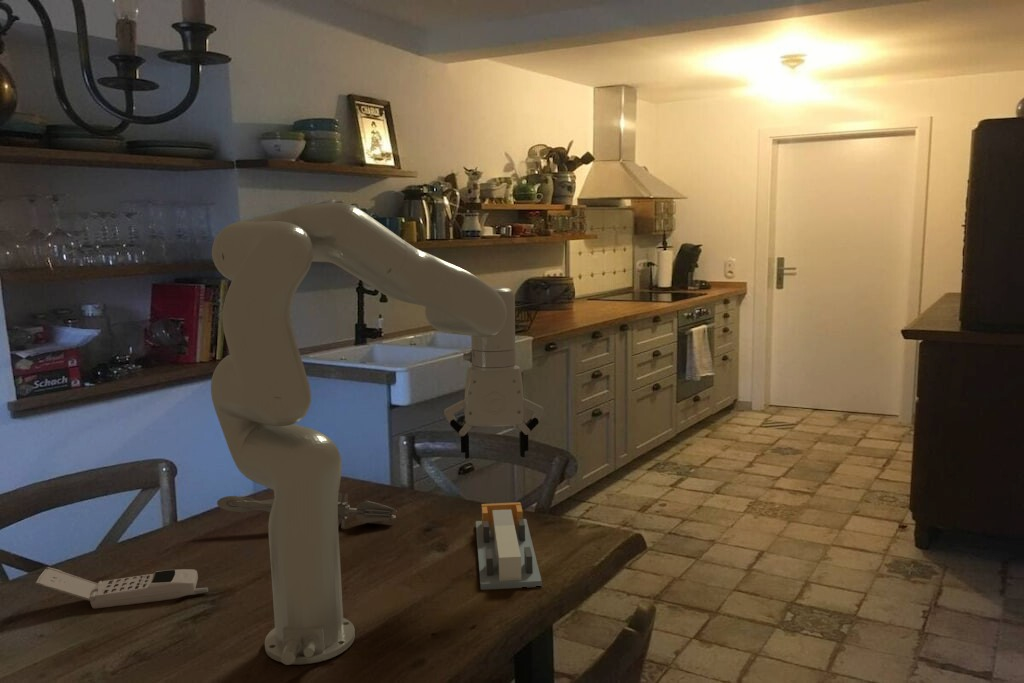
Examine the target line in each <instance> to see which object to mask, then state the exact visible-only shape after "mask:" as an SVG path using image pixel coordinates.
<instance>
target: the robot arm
mask: <svg viewBox="0 0 1024 683" xmlns="http://www.w3.org/2000/svg"><path fill="white" fill-rule="evenodd" d="M211 257H212V262H213V264H214V266H215V268H216V269H217V270H218V273H220V274H221V275H222V276H223V277H224V278H226V279H227V280H228V281H229V280H230V281H231V282H230V285H229V288H227V292H226V295H225V297H224V298H225V299H224V302H223V308H222V317H221V318H222V328H223V334H224V337H225V340H226V345H227V348H228V352H229V354H228V355H226V356H225V357H223V358H222V360H220V362H219V363H218V364H217V366H216V367H215V368H214V371H213V374H212V377H211V383H210V394H211V401H212V405H213V407H214V411H215V414H216V416H217V419H218V420H217V421H218V422H219V426H220V427H221V430H222V434H223V436H224V440H225V442H226V444H227V448H228V449H229V452H230V456H231V458H232V460H233V462H234V465H235V467H237V469H238V471H239V472H240V473H241V474H242V475H243V476H244V477H245V478H246V479H249V480H250V481H253V482H254V483H256V484H259V485H261V486H264V487H266V488H269V489H270V490H272V491H273V493H274V497H273V499H274V501H273V505H272V509H271V512H270V513H269V516H268V517H269V518H268V544H269V554H270V555H269V558H270V572H271V588H272V601H273V602H272V603H273V619H274V628H272V629H271V630H270V631H269V632H268V633H267V635H266V636H265V639H264V650H265V653H266V654H267V656H268V657H269V658H271V659H272V660H274V661H277V662H278V663H279V662H280V663H282V664H284V665H286V666H289V665H310V664H311V665H312V664H317V663H320V662H323V661H327V660H329V659H333V658H335V657H336V656H339V655H340V654H342V653H343V652H345V651H347V650H348V648H350V647H351V645H352V644H353V643H354V641H355V637H356V633H355V632H356V630H355V629H356V628H355V626H354V624H353V623H352V622H351V621H350V620H348V619H347V618H345V617H344V609H343V606H344V605H343V594H342V593H343V592H342V591H343V589H342V575H341V574H342V572H341V569H342V568H341V554H340V553H341V552H340V536H339V527H338V498H339V493H340V492H339V491H340V486H341V478H342V468H343V464H342V457H341V453H340V450H339V449H338V447H337V445H336V444H335V442H334V441H333V440H332V439H331V438H330V437H329V436H327V435H325V434H324V433H322V432H321V431H319V430H316V429H313V428H310V427H306V426H303V425H299V424H296V423H298V422H300V421H301V420H303V419H304V418H305V417H306V415H307V414H308V412H309V410H310V406H311V403H312V392H311V386H310V382H309V379H308V376H307V373H306V370H305V366H304V363H303V360H302V357H301V353H300V350H299V347H298V344H297V340H296V337H295V333H294V330H293V325H292V318H291V309H292V302H293V300H294V297H295V294H296V292H297V289H298V288H299V287H300V284H301V283H302V281H303V280H304V279H305V277H306V276H307V273H308V272H309V270H310V269H311V265H312V263H313V262H317V263H331V264H334V265H335V266H337V267H339V268H341V269H342V270H343V271H346V272H347V273H349V274H351V275H352V276H354V277H355V278H357V279H359V280H360V281H362V282H363V283H364V284H367V285H368V286H370V287H372V288H373V289H375V290H376V291H377V292H379V293H381V294H382V295H384V296H386V297H389V298H392V299H395V300H398V301H400V302H403V303H408V304H412V305H417V306H422V307H424V312H425V314H424V315H425V318H426V321H427V323H428V324H429V325H430V326H431V327H432V328H434V329H435V330H437V331H438V332H442V333H444V334H450V335H460V336H462V335H463V336H470V338H471V340H470V341H471V350H469V351H467V352H463V353H462V358H463V359H462V360H463V361H464V362H465V361H467V362H469V363H470V364H471V365H469V366H468V368H467V371H466V374H465V375H466V377H465V386H464V399H462V400H459V401H458V402H456V403H453V404H452V405H450V406H447V407H446V408H445V409H444V410H443V415H444V416H445V418H446V420H447V422H448V423H449V426H450V427H451V428H452V429H453V430H454V431H455V432H456V433H458V434H459V436H460V453H464V459H465V460H467V459H469V458H470V434H469V431H470V430H471V429H472V428H473V427H483V428H484V427H512V426H513V427H514V426H517V427H518V428H519V429H520V431H519V433H518V434H519V435H518V437H519V442H518V446H519V448H518V449H519V456H520V457H521V458H525V457H526V456H525V455H526V454H525V453H526V452H529V435H530V433H531V432H532V431H533V430H534V429H535V428H536V427H537V425H539V422H540V420H541V418H542V416H543V415H544V413H545V409H544V407H543V406H542V405H539V404H537V403H535V402H533V401H532V400H529V399H527V398H525V397H524V387H523V386H524V385H523V378H522V372H521V367H520V366H519V365H516V298H515V292H514V291H513V290H512V289H511V288H509V287H505V286H490V285H489V284H487V282H484V280H482V279H480V278H479V277H477V276H476V275H474V274H473V273H471V272H469V271H468V270H465V269H463V268H461V267H459V266H456V265H455V264H452V263H450V262H448V261H445V260H443V259H441V258H439V257H437V256H435V255H434V254H433V255H432V254H430V253H429V252H426V251H423V250H420V249H419V248H416V247H415V246H413V245H412V244H410V243H409V242H407V241H406V240H405V239H404V238H401V237H400V236H399V235H397V233H394V232H393V231H392V230H390V229H389V228H388V227H386V226H384V225H383V224H382V223H380V222H379V221H378V220H376V219H374V218H373V217H372V216H371V215H369V214H368V213H366V212H365V211H363V210H362V209H361V208H359V207H357V206H354V205H352V204H349V203H344V202H327V203H325V202H324V203H312V204H305V205H299V206H297V207H292V208H289V209H285V210H282V211H281V210H280V211H277V212H274V213H273V212H272V213H270V214H266V215H261V216H257V217H252V218H248V219H244V220H240V221H236V222H232V223H230V224H228V225H227V226H224V227H223V229H221V230H220V231H219V233H218V234H217V235H216V237H215V238H214V241H213V243H212V247H211ZM525 409H528V410H530V411H532V412H533V415H532V417H530V419H529V420H528V421H527V422H526V421H525ZM461 410H464V419H465V420H463V422H462V423H461V422H460V421H458V420H457V419H456V417H455V413H458V412H460V411H461Z"/></svg>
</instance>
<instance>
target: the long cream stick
mask: <svg viewBox="0 0 1024 683" xmlns="http://www.w3.org/2000/svg"><path fill="white" fill-rule="evenodd" d="M492 515H493V535H494V543H495V550H496V558H497V565H498V573H499V581H506V580H521V555H520V550H519V545H518V540H517V535H516V530H515V525H514V520H513V515H512V511H511V509H509V510H492Z"/></svg>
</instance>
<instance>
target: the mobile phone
mask: <svg viewBox="0 0 1024 683" xmlns="http://www.w3.org/2000/svg"><path fill="white" fill-rule="evenodd" d="M198 580H199V575H198V571H197V570H196V569H193V568H192V569H191V568H190V569H189V568H188V569H185V568H183V569H182V568H181V569H166V570H158V571H157V570H156V571H155V572H154V573H150V574H141V575H136V576H128V577H121V578H115V579H109V580H108V579H107V580H103V581H102V580H100V581H98V582H94V581H91V580H88V579H86V578H83V577H80V576H76V575H74V574H71V573H68V572H64V571H63V570H60V569H57V568H54V567H53V568H52V567H50V566H48V567H46V568H45V569H44V570H43V572H42V573H40V575H39V576H38V577H37V578H36V581H35V582H34V584H36V585H38V586H42V587H44V588H45V587H46V588H48V589H51V590H53V591H57V592H59V593H63V594H67V595H70V596H72V597H76V598H79V599H83V600H86V601H90V602H89V603H90V605H91V607H92V609H101V608H110V607H112V608H113V607H118V606H119V607H120V606H127V605H129V606H130V605H137V604H144V603H152V602H153V603H154V602H160V601H168V600H169V601H170V600H174V599H176V600H177V599H180V598H183V597H186V596H194V595H199V594H204V593H208V592H209V587H208V586H207V587H197V584H198ZM196 587H197V588H196Z"/></svg>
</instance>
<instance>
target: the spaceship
mask: <svg viewBox="0 0 1024 683" xmlns="http://www.w3.org/2000/svg"><path fill="white" fill-rule="evenodd" d="M348 497H349V493H347V492H346V493H344V498H343V493H342V492H339V493H338V528H339V526H340V527H341V529H345V525H346V520H347V518H348V517H349V516H350V515H355V518H356V520H359V521H360V522H362V523H365V524H371V523H377V522H378V523H379V522H384V521H385V522H387V521H388V520H390V521H392V520H393V519H396V518H397V515H394V514H393V513H397V509H395V508H393V507H389V506H388V505H384V504H381V503H377V502H373V501H369V500H365V501H363V502H360V503H359V504H358V503H357V505H356V507H351V506H350V505H351V504H349V500H348V499H349V498H348ZM273 501H274V498H270V499H264V500H255V499H253V498H252V497H249V496H240V495H239V496H237V495H229V496H223V497H221V498H219V499H218V500H217V502H216V504H217V506H218V507H219V508H220V509H222V510H224V511H229V512H240V513H247V512H251V511H254V510H259V511H260V510H261V511H263V512H266V513H269V514H270V512H271V509H272V505H273ZM340 520H341V521H340ZM340 522H341V525H340Z"/></svg>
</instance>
